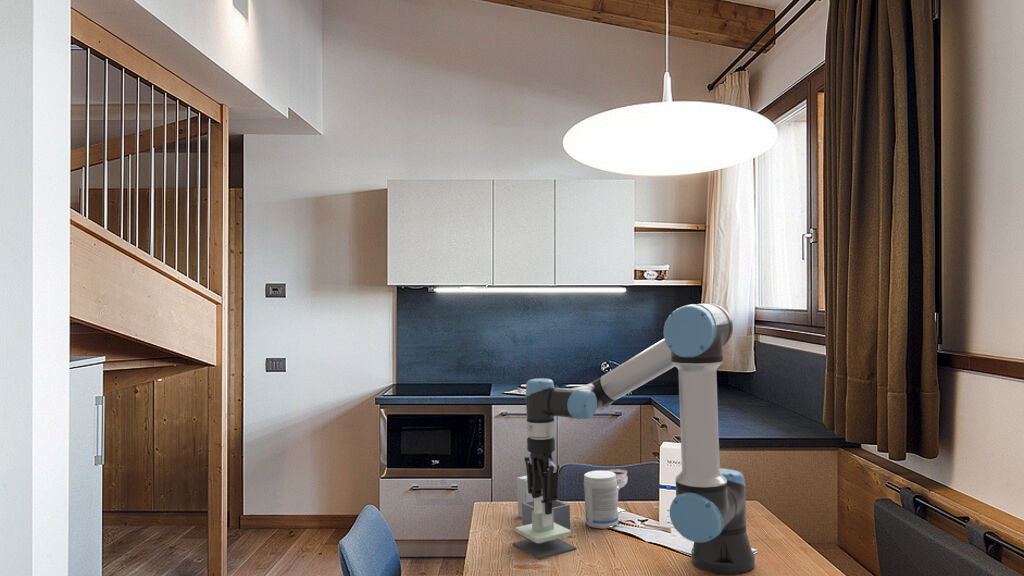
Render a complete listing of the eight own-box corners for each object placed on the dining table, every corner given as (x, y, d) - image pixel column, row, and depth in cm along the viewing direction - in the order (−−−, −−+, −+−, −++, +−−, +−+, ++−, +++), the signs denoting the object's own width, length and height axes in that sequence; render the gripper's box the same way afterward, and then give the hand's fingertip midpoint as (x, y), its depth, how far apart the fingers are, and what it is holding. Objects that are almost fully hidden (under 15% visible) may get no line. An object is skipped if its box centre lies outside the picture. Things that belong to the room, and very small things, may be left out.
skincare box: (532, 512, 215) (531, 473, 216) (541, 515, 212) (540, 476, 212) (517, 516, 212) (515, 476, 212) (526, 520, 208) (524, 479, 208)
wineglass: (623, 515, 210) (622, 475, 210) (603, 511, 214) (602, 473, 214) (631, 508, 216) (630, 470, 216) (611, 505, 219) (610, 468, 219)
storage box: (570, 529, 199) (569, 504, 199) (541, 536, 194) (541, 511, 194) (550, 520, 207) (549, 496, 207) (522, 526, 202) (521, 502, 202)
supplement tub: (625, 523, 202) (623, 473, 202) (604, 532, 196) (603, 480, 196) (599, 516, 209) (597, 468, 209) (578, 524, 203) (577, 474, 203)
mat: (576, 549, 183) (576, 547, 183) (539, 559, 177) (539, 557, 177) (548, 535, 194) (548, 533, 194) (512, 544, 188) (512, 542, 188)
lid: (571, 537, 184) (571, 512, 184) (537, 546, 178) (536, 520, 178) (548, 526, 193) (547, 501, 193) (515, 534, 187) (514, 509, 187)
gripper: (513, 433, 191) (515, 518, 191) (546, 443, 177) (548, 535, 177) (535, 430, 195) (537, 513, 194) (569, 439, 181) (572, 529, 181)
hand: (542, 523), depth 186 cm, fingers closed on lid, 3 cm apart
